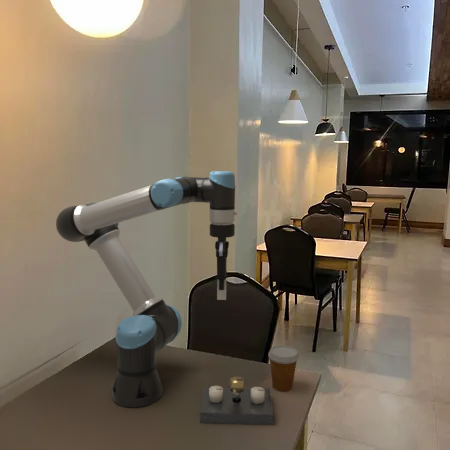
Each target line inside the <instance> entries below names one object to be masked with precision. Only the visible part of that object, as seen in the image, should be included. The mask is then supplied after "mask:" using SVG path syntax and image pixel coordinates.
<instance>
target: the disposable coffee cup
mask: <svg viewBox="0 0 450 450" xmlns="http://www.w3.org/2000/svg"><path fill="white" fill-rule="evenodd" d="M267 356H268V358H269V363H270V364H269V365H270V373H271V374H270V375H271V382H272V383H271V385H272V388H273V390H275V391H278V392H283V393H284V392H289V391H291V390H292V389H293V385H294V378H295V373H296V367H297V361H298V359H299V356H300V355H299V353H298V350H297V349H295V348H294V347H292V346H289V345H275V346H272V347H271V348H270V350H269V351H268V355H267Z"/></svg>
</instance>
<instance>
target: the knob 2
mask: <svg viewBox="0 0 450 450" xmlns="http://www.w3.org/2000/svg"><path fill="white" fill-rule="evenodd" d="M250 388H251V402H253V403H256V404H261V403H263V402H264V396H265V390H264V389H263V388H264V387H262V386H253V387H250Z"/></svg>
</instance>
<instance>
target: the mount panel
mask: <svg viewBox="0 0 450 450" xmlns="http://www.w3.org/2000/svg"><path fill="white" fill-rule="evenodd" d="M210 387H211V386H203V391H202V397H201V405H200V412H199V423H201V424H229V425H231V424H232V425H262V426H264V425H265V426H268V425H271V426H273V425H274V411H273V402H272V395H271V389H270V387H268V388H266V387H265V388H264V387H262V388H263V389H264V390H265V396H264V402H263V403H261V404H256V403H253V402H251V388H252V387H244V391H243V392H241V393H240V397H239V400H238V401H235V400H234V393H233V392H231V391H230V386H229V387H224V386H221V387H222V388H223V400H222V401H221V402H218V403H214V402H211V401H210V400H209V388H210Z"/></svg>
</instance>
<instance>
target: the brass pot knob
mask: <svg viewBox="0 0 450 450" xmlns="http://www.w3.org/2000/svg"><path fill="white" fill-rule="evenodd" d="M229 387H230V391H231V392H233V393H234V400H235V401H238V400H239V397H240V393H241V392H243V391H244V388H245V379H244V378H243V377H241V376H233V377H230V378H229Z"/></svg>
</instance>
